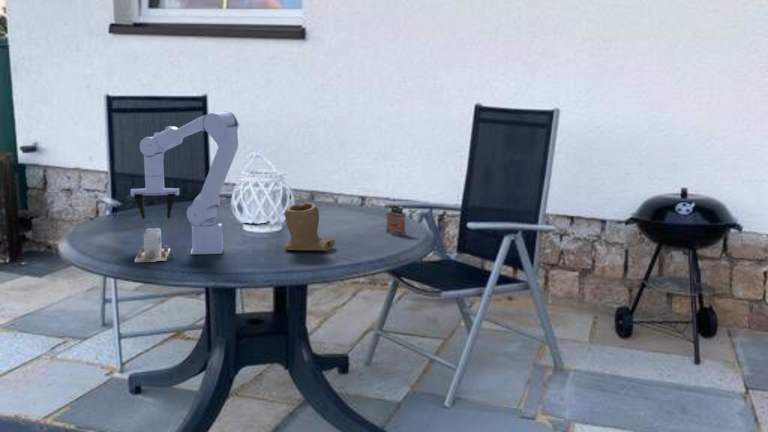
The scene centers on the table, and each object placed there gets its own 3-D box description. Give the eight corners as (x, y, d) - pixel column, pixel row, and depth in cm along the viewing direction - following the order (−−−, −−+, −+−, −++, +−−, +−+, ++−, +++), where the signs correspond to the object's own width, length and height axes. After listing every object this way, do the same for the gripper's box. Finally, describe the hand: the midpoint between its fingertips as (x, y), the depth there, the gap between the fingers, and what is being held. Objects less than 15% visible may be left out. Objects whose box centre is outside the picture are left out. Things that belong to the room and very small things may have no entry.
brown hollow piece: (279, 254, 244) (278, 206, 242) (289, 245, 256) (289, 199, 253) (327, 256, 242) (327, 208, 239) (335, 247, 254) (335, 201, 251)
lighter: (407, 234, 274) (408, 206, 272) (401, 235, 272) (401, 207, 270) (390, 230, 280) (390, 202, 278) (384, 232, 277) (384, 204, 275)
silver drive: (161, 250, 244) (160, 228, 243) (158, 256, 236) (157, 234, 235) (148, 250, 244) (147, 228, 242) (144, 257, 236) (143, 234, 234)
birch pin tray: (170, 250, 247) (170, 243, 247) (165, 261, 234) (165, 254, 233) (140, 251, 246) (140, 244, 245) (134, 262, 232) (133, 255, 232)
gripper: (179, 173, 252) (181, 214, 254) (132, 173, 249) (134, 215, 252) (177, 176, 245) (179, 219, 248) (128, 176, 243) (131, 220, 245)
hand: (156, 217), depth 249 cm, fingers open, 7 cm apart
